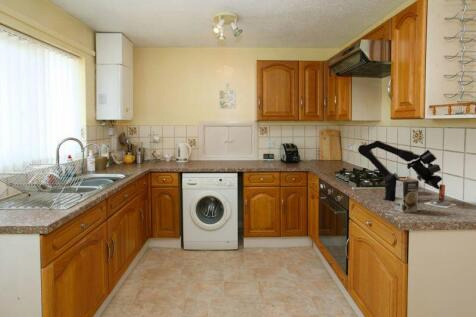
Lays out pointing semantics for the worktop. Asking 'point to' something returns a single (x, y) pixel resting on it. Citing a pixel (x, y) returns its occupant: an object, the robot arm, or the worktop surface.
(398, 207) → the coffee box
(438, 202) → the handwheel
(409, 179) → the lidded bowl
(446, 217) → the worktop surface
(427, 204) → the wheel base
